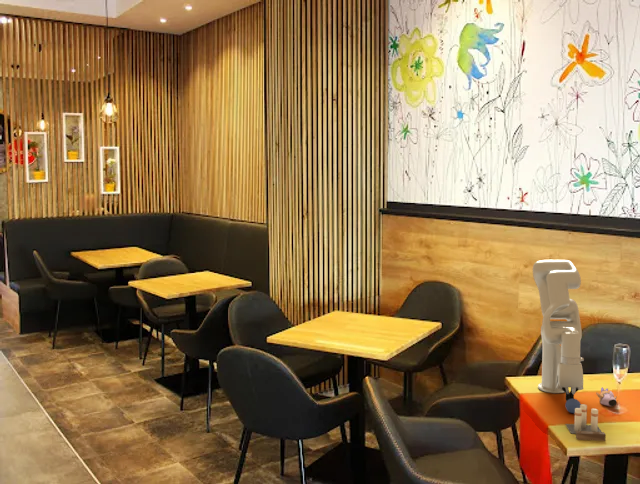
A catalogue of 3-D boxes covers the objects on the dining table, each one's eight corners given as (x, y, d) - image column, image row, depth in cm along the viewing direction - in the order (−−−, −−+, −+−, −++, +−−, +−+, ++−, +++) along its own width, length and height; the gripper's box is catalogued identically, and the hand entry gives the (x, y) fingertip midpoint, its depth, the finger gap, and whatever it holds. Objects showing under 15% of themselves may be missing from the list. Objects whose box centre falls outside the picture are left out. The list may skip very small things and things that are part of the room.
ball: (563, 410, 272) (564, 396, 271) (578, 410, 271) (579, 396, 271) (567, 415, 266) (567, 401, 266) (582, 415, 265) (582, 401, 265)
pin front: (578, 426, 255) (579, 404, 254) (585, 426, 255) (586, 404, 254) (580, 428, 252) (580, 406, 251) (587, 428, 252) (587, 406, 251)
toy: (615, 386, 285) (626, 399, 270) (612, 399, 286) (623, 413, 271) (593, 383, 286) (603, 396, 271) (590, 396, 287) (600, 409, 272)
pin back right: (573, 430, 251) (574, 407, 250) (580, 430, 251) (580, 408, 250) (575, 432, 249) (575, 410, 248) (581, 433, 248) (582, 410, 247)
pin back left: (589, 430, 250) (590, 408, 249) (596, 431, 250) (597, 408, 249) (591, 433, 248) (592, 410, 247) (598, 433, 247) (599, 410, 246)
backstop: (575, 437, 244) (576, 431, 244) (603, 438, 243) (604, 432, 243) (577, 439, 242) (577, 433, 242) (605, 440, 241) (605, 434, 241)
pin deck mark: (565, 424, 257) (565, 424, 257) (597, 425, 255) (597, 425, 255) (570, 433, 248) (570, 433, 248) (603, 434, 246) (603, 434, 246)
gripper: (586, 358, 276) (585, 400, 278) (550, 357, 278) (549, 399, 280) (591, 363, 269) (590, 406, 270) (553, 362, 271) (553, 405, 272)
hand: (569, 402), depth 275 cm, fingers closed
